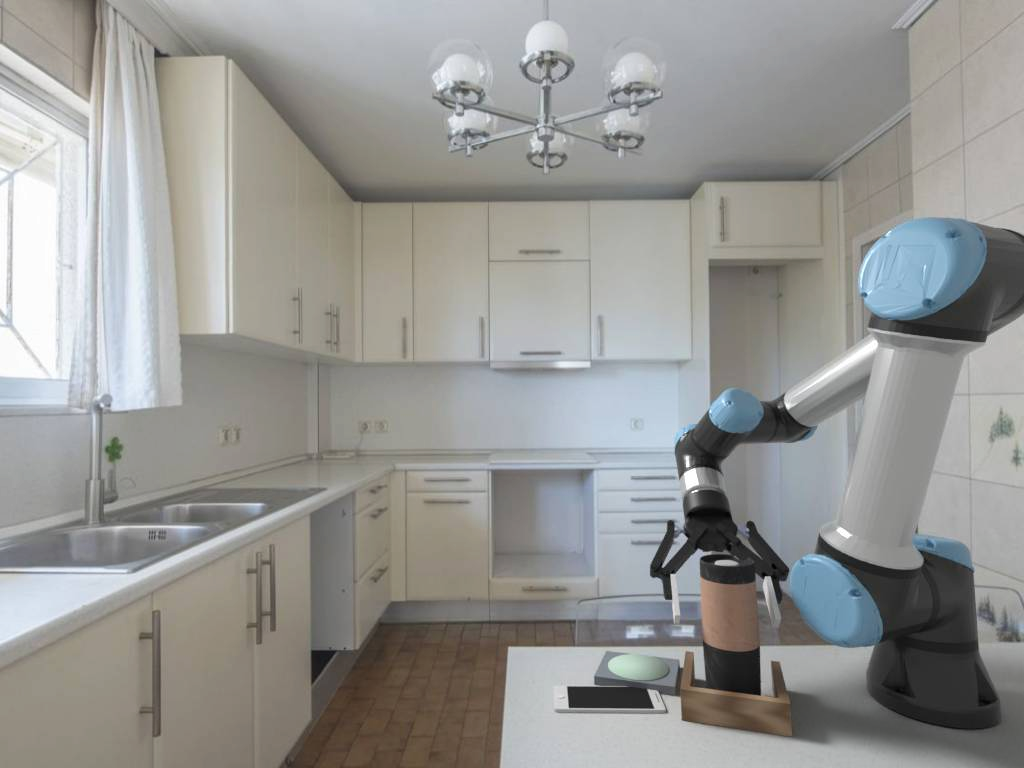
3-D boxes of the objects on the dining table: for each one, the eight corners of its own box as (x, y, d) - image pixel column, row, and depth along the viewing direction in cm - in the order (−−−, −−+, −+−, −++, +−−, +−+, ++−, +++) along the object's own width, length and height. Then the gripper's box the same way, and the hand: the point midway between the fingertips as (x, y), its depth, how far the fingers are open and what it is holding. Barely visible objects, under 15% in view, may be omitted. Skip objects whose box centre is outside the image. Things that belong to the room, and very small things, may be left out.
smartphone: (553, 691, 85) (553, 684, 85) (656, 691, 84) (656, 685, 84) (554, 715, 78) (554, 708, 78) (666, 716, 77) (666, 709, 77)
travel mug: (711, 716, 76) (704, 566, 77) (700, 689, 83) (694, 553, 85) (770, 719, 75) (762, 566, 76) (754, 692, 82) (747, 553, 84)
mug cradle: (781, 689, 83) (779, 661, 83) (792, 736, 71) (790, 704, 71) (686, 677, 88) (685, 651, 88) (681, 719, 75) (680, 689, 75)
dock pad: (679, 667, 91) (679, 658, 91) (675, 695, 82) (674, 685, 82) (606, 658, 95) (606, 649, 95) (594, 684, 86) (594, 674, 86)
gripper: (779, 514, 96) (815, 637, 80) (630, 513, 101) (637, 630, 85) (786, 486, 91) (826, 612, 75) (630, 487, 96) (637, 605, 80)
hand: (726, 622), depth 80 cm, fingers open, 13 cm apart
